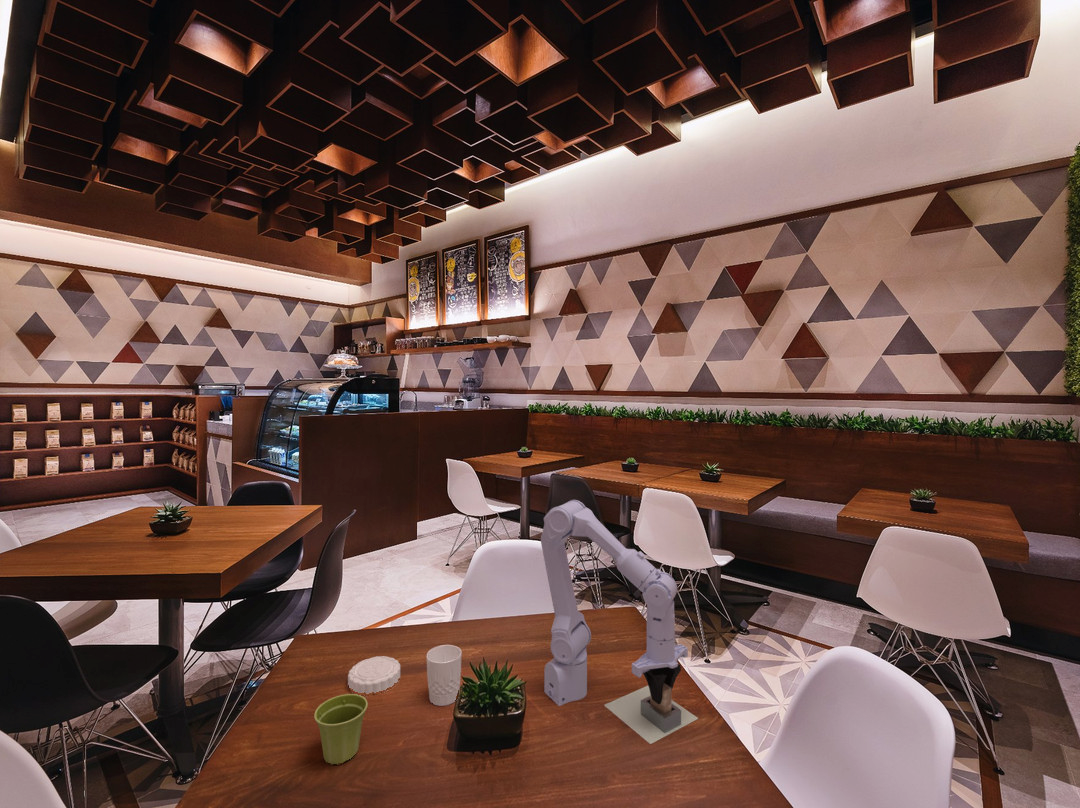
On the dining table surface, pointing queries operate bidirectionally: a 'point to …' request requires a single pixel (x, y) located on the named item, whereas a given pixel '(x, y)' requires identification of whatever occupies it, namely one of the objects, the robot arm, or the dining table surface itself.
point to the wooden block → (663, 700)
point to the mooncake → (374, 674)
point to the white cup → (443, 674)
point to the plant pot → (340, 726)
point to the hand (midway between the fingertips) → (660, 699)
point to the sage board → (631, 715)
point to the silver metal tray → (661, 716)
